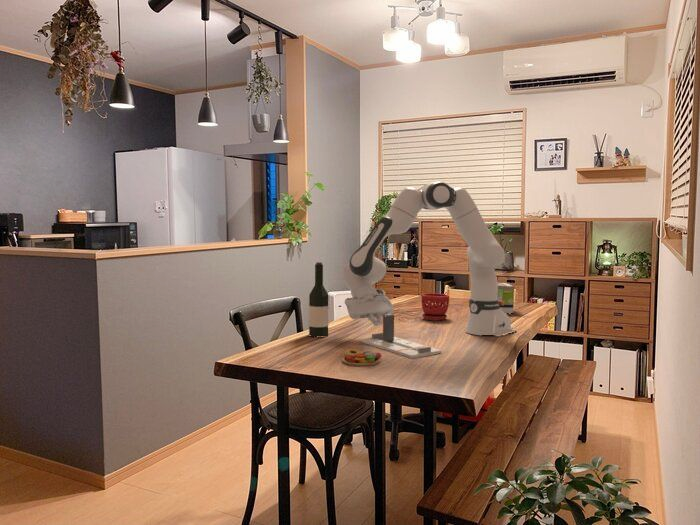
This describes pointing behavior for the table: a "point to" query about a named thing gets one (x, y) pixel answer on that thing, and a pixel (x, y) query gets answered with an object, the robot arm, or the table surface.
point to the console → (401, 346)
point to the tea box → (506, 297)
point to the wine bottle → (318, 305)
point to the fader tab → (388, 327)
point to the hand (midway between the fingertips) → (378, 324)
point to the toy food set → (360, 357)
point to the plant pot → (435, 306)
